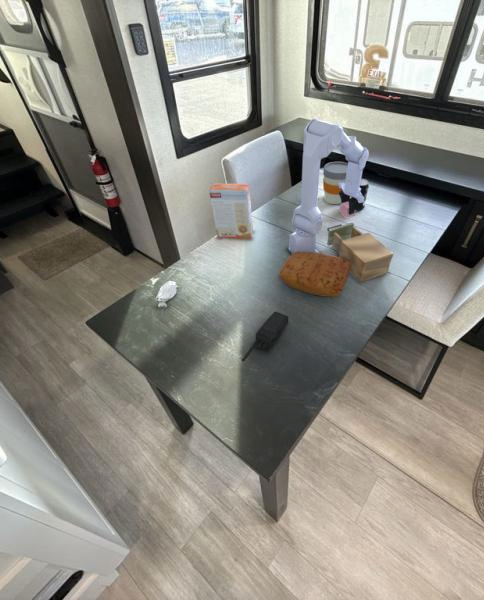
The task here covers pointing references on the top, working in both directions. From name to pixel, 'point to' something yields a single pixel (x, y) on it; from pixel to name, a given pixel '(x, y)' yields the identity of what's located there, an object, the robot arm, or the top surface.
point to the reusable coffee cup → (334, 180)
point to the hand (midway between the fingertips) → (347, 211)
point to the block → (345, 210)
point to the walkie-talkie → (269, 332)
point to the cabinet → (365, 256)
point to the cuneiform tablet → (315, 273)
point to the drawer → (341, 234)
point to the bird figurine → (166, 293)
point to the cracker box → (232, 210)
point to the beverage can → (363, 193)
